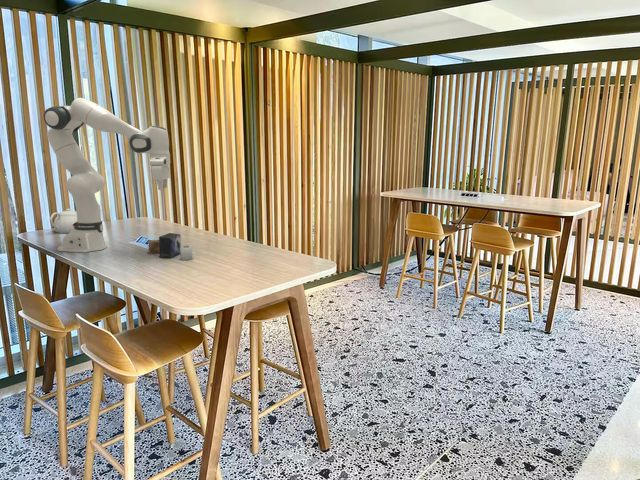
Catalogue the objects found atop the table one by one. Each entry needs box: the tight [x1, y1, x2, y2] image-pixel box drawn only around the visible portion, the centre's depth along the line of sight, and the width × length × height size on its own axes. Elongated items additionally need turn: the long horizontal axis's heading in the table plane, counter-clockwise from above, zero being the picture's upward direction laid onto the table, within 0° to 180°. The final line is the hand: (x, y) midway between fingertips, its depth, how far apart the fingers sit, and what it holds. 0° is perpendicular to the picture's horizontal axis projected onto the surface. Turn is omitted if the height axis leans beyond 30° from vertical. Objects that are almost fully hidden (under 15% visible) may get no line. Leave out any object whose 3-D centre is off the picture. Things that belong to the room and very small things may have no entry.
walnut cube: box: [147, 239, 159, 255], centre depth 233 cm, size 6×6×6 cm
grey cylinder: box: [179, 245, 193, 261], centre depth 223 cm, size 6×6×6 cm
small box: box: [158, 232, 182, 259], centre depth 228 cm, size 11×6×10 cm, turn 168°
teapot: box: [49, 208, 77, 234], centre depth 275 cm, size 19×18×14 cm
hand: (162, 188), depth 225 cm, fingers open, 8 cm apart
